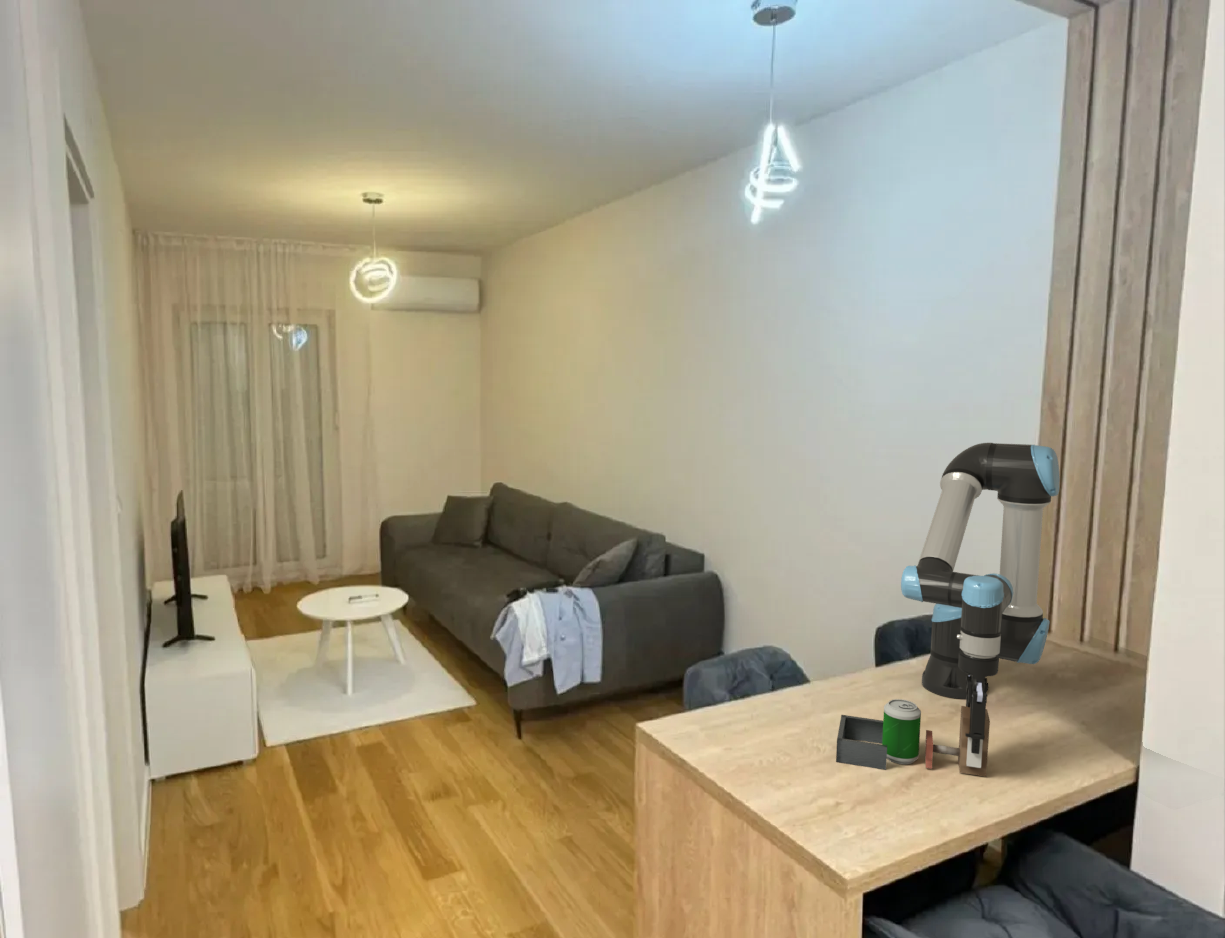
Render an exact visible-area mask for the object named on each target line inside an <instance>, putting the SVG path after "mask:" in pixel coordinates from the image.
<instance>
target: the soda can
mask: <svg viewBox="0 0 1225 938" xmlns="http://www.w3.org/2000/svg"><path fill="white" fill-rule="evenodd" d="M921 720H922V711H921V709H920V708H919V707H918V705H917V703H915V702H913V701H910V700H907V699H901V698H900V699H899V698H895V699H891V700H889V701H888V702H886V703H885V704H884V706H883V720H882V721H883V739H882V745H887V760H889V762H891V763H894V764H897V765H911V764H913V763H914V762H915V761H917V760H918V759H919V754H920V742H921V741H920V740H921V739H920V737H921Z"/></svg>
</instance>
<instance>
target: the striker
mask: <svg viewBox="0 0 1225 938" xmlns="http://www.w3.org/2000/svg"><path fill="white" fill-rule="evenodd" d="M960 708H961V709H960V720H959V721H960V722H959V737H958V738H959V740H958V747H953V746H946V745H939V744H934V738H933V730H930V729H925V745H924V758H925V759H924V761H925V763H924V764H925V768H926V769H930V770H931V769H933V754H934V753H936V754H941V755H950V756H954V757H957V761H958V770H959V773H960V774H967V775H974V776H980V777H987V772H988V757H989V756H988V754H989V739H990V725H991V719H990V717H989V716H990V715H989V712H988V711H989V710H988V709H987V708H986V713H985V730H984V736H985V738H984V740H983V745H982V760H981V768H977V767H971V766H967V765H966V761H967V745H968V737H966V736H965V733H968V734H969V732H970V707H966V705H965V706H964V705H960Z"/></svg>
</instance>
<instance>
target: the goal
mask: <svg viewBox="0 0 1225 938" xmlns="http://www.w3.org/2000/svg"><path fill="white" fill-rule="evenodd" d="M882 739H883V720H882V719H875V718H867V717H861V716H852V715H847V714H841V715H840V721H839V727H838V732H837V738H836V753H835V754H836V755H835V756H836V757H835V759H836V760H835V762H836V763H840V764H846V765H853V766H860V767H865V768H866V767H867V768H871V769H876V770H877V769H878V770H884V771H886V770H887V760H888V759H887V745H882Z"/></svg>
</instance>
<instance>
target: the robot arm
mask: <svg viewBox="0 0 1225 938" xmlns="http://www.w3.org/2000/svg"><path fill="white" fill-rule="evenodd" d="M1060 479H1061V477H1060V466H1059V460H1058V456H1057V453H1056V450H1055V449H1053V448H1052V447H1050V446H1045V445H1044V446H1043V445H1037V444H1026V443H1025V444H1024V443H1023V444H1020V443H996V442H995V443H994V442H981V443H977V444H974V445H971V446H970V447H968V448H966V449H964V450H963V451H961V452H959V454H957V455H956V456H955V457H953V459H952V460H951V461H950V462H949V463H948V464H947V466H946V467H945V469H944V471H943V473H942V475H941V478H940V482H939V486H940V489H941V493H940V497H939V499H938V502H937V505H936V507H935V511H934V514H933V517H932V520H931V523H930V526H929V529H928V533H927V535H926V538H925V541H924V544H923V547H922V550H921V553H920V556H919V560H918V561H917V565H907V566H906V567H905V568H904V569H903V572H902V574H901V580H900V590H901V594H902V596H903V597H904V598H907V599H910V600H913V601H918V602H921V603H923V602H924V603H930V604H934V606H933V610H932V617H931V637H930V653H929V654H930V655H929V658H928V660H927V663H926V666H925V668H924V669H925V670H923V672H922V674H921V685H922V687H923V688H924V689H925V690H928V691H929V692H931V693H933V694H936V695H939V696H942V697H945V698H952V699H958V700H959V699H962V700H963V699H965V706H966V707H970V732H969V734H968V733H965V736H966V737H968V745H967V761H966V765H967V766H971V767H977V768H981V760H982V745H983V740H984V738H985V736H984V730H985V713H986V709H987V708H986V707H987V700H988V691H989V682H988V678H987V677H993V676H996V675H997V674H998V673H999V665H1000V662H999V661H1000V659H1001V660H1006V661H1010V662H1014V663H1016V664H1021V663H1022V664H1029V665H1036V664H1037V663H1039V662H1040V660H1041V658H1042V655H1043V652H1044V648H1045V646H1046V642H1047V637H1048V635H1049V629H1050V620H1049V619H1047V618H1046V617H1044V610H1043V608H1041V606H1040V605H1039V604H1038V588H1039V575H1040V574H1039V573H1040V560H1041V558H1040V557H1041V545H1042V529H1043V518H1044V517H1043V516H1044V515H1043V514H1044V508H1046V507H1047V506H1049V504H1052V497H1055V496H1056V497H1057V496H1058V495H1059V494H1060V493H1059V492H1060ZM984 490H987V491H994V492H995V491H996V492H997V497H996V499H997V500H998V502H1000V504H1002V507H1003V514H1002V527H1001V528H1002V529H1001V543H1000V544H1001V546H1000V560H999V563H1000V564H999V573H995V572H993V573H988V574H985V575H978V574H970V573H964V572H958V571H957V572H956V571H954V570H955V566H956V563H957V560H958V556H959V553H960V549H961V546H962V543H963V540H964V536H965V533H966V530H967V529H966V528H967V526H968V522H969V519H970V517H971V513H972V509H973V506H974V502H975V500H976V499H977V498H979V497H980V495H981V494H982V491H984Z"/></svg>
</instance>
